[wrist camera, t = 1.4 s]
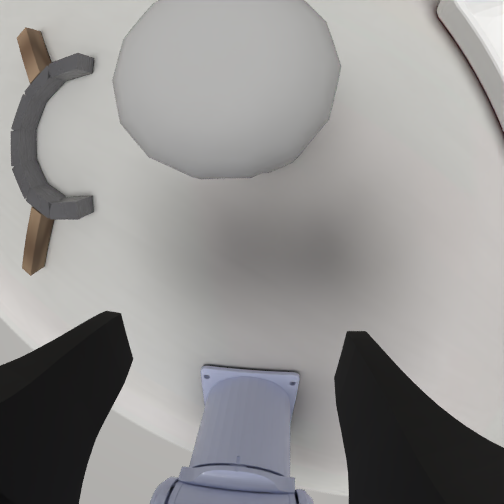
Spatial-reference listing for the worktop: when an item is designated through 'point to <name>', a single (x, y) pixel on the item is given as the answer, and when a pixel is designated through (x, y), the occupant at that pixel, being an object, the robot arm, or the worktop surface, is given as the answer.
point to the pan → (480, 42)
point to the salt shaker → (226, 84)
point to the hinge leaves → (38, 223)
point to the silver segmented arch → (25, 141)
